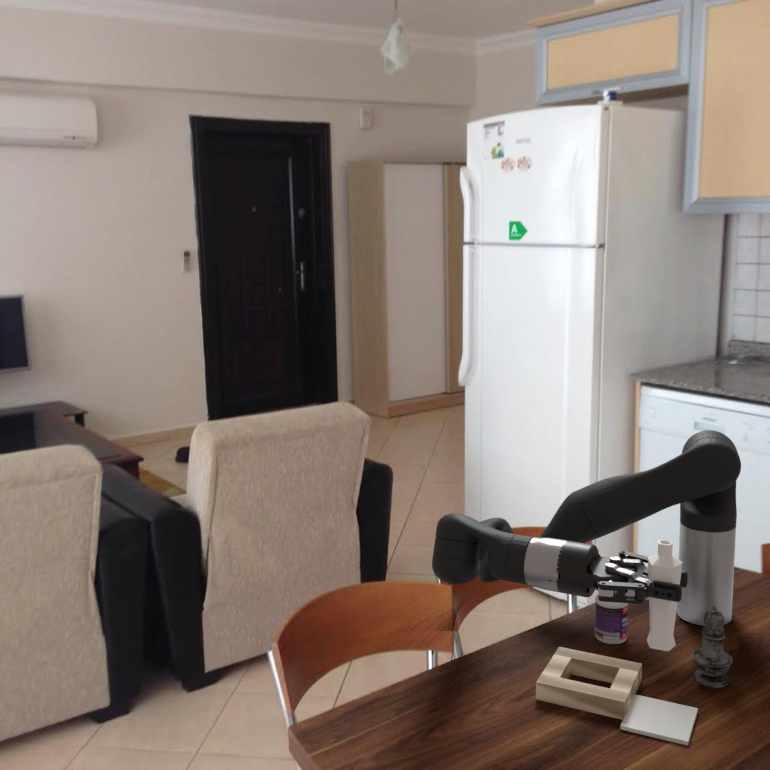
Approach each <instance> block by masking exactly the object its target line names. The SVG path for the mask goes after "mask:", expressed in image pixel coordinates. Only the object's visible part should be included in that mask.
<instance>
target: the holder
mask: <svg viewBox="0 0 770 770" xmlns="http://www.w3.org/2000/svg"><path fill="white" fill-rule="evenodd" d="M642 673H643V663H641V662H637V661H632V660H628V659H622V658H616V657H613V656H607V655H603V654H597V653H593V652H587V651H581V650H577V649H572V648H567V647H562V646H559V647H558V648H557V649H556V651H555V652H554V654H553V655H552V657H551V659H550V660H549V662H548V663H547V664H546V667H544V669H543V670H542V672H541V674H540V676H539V677H538V678H537V680H536V682H535V700H536V701H537V700H538V701H541V702H545V703H550V704H555V705H559V706H562V707H567V708H571V709H575V710H580V711H582V712H588V713H592V714H593V713H594V714H597V715H601V716H604V717H608V718H609V717H610V718H613V719H617V720H620V721H621V720H622V721H623V719H624V716H625V714H626V712H627V709H628V707H629V705H630V703H631V700H632V698H633V696H634V694H636V695H637V692H638V690H639V687H640V685H641V683H642V681H643V680H642V679H643V676H642V675H643V674H642ZM572 675H573V676H577V677H581V678H587V679H591V680H595V681H600V682H605V683H609V684H611V685H610V687H609V688H608V687H605V686H601V685H600V686H599V685H595V684H592V683H586V682H582V681H579V680H578V681H577V680H573V679H570V677H571V676H572Z"/></svg>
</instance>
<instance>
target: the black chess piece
mask: <svg viewBox="0 0 770 770" xmlns="http://www.w3.org/2000/svg"><path fill="white" fill-rule="evenodd" d="M712 609H713V610H710V611H707V612H706V613H705V614H704V626H703V629H701V631H700V635H701V636H702V640H701V641H702V642H701V648H700V647H699V648H697V649H695V650H693V651H692V653H691V657H692V659H693V662H694V666H695V667H696V668H695V669H696V671H693V674H692V678H693V680H694V681H695V682H697V683H698V684H699V685H701V686H705V687H709V688H717V689H718V688H724V687H727V686H728V685H729V684H730V681H731V680H730V678H729V676H728V675H726V673H728V671H729V670H730V668H731V665H732V664H733V661H734V660H733V658H732V656H731V655H730V654H729V653H728V652H725V650H724V649H725V648H724V641H725V639H726V638H727V634H726V633H725V632H724V628H725V627H724V626H725V625H724V616H723V615H722V613H720V612H719V611H717V610H716V609H717V608H716V607H715V606H713V607H712Z"/></svg>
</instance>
